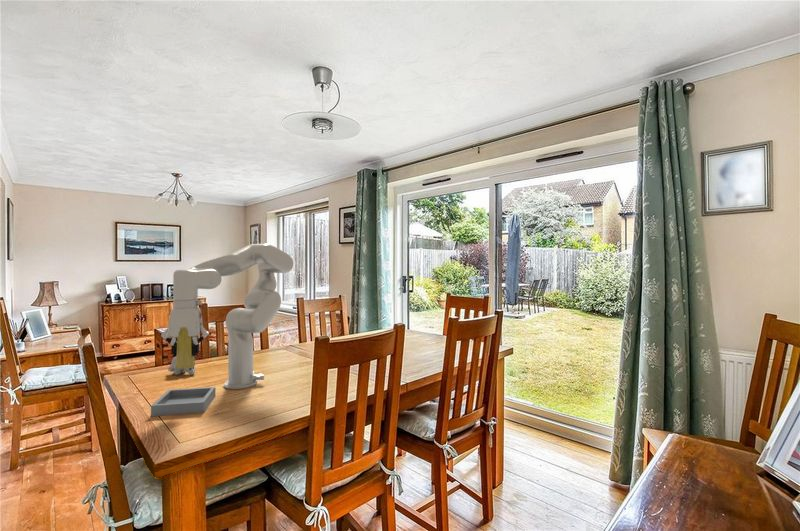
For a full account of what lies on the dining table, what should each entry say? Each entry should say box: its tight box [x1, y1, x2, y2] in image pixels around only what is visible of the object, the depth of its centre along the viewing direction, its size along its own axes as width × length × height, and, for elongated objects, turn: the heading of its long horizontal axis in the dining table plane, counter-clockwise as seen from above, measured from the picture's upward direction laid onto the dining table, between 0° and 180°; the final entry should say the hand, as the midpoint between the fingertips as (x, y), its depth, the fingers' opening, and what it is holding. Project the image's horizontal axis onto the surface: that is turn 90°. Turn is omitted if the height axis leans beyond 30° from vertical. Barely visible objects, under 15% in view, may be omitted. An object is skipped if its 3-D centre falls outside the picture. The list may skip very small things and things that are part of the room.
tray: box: [150, 386, 216, 417], centre depth 136 cm, size 16×16×4 cm
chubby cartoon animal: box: [167, 357, 197, 376], centre depth 172 cm, size 7×12×8 cm, turn 75°
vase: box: [175, 327, 196, 369], centre depth 135 cm, size 6×6×14 cm
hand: (185, 355), depth 135 cm, fingers closed on vase, 5 cm apart
